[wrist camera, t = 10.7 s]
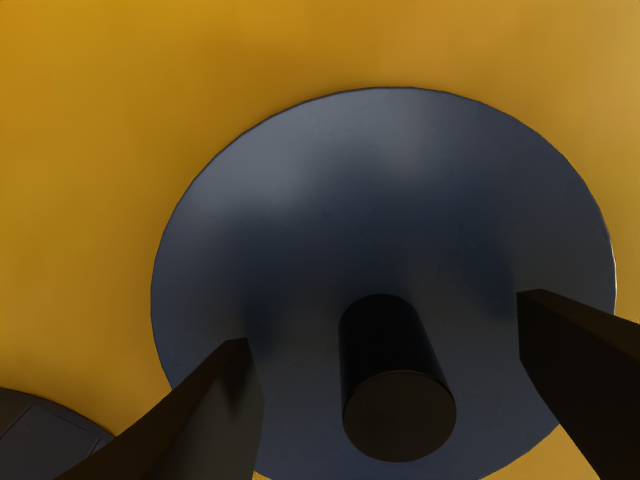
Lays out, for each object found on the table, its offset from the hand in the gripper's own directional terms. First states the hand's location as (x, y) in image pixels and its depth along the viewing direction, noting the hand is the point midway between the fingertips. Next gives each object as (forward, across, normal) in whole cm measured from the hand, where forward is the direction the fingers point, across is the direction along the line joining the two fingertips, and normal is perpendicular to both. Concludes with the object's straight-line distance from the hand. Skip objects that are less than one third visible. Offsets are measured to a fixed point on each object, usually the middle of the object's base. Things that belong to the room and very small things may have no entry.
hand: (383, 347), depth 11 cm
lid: (+1, 0, 0) cm, 1 cm away
